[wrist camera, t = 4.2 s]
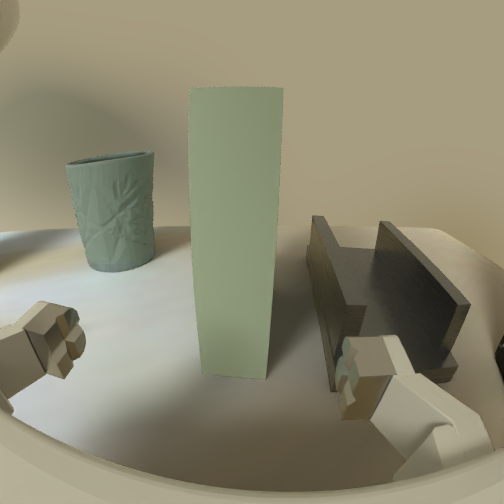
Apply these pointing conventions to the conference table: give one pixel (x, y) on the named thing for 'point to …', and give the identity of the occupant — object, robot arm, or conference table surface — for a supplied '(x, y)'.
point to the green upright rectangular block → (234, 223)
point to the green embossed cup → (114, 208)
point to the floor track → (385, 299)
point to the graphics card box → (500, 355)
